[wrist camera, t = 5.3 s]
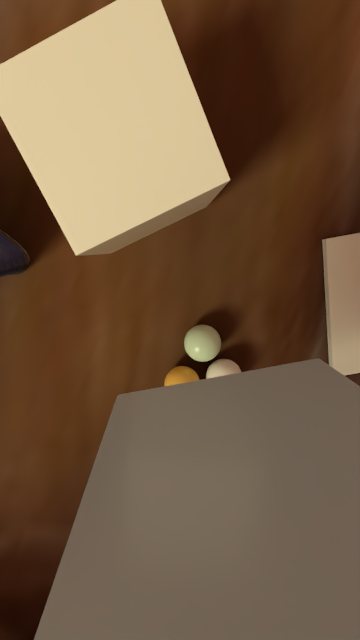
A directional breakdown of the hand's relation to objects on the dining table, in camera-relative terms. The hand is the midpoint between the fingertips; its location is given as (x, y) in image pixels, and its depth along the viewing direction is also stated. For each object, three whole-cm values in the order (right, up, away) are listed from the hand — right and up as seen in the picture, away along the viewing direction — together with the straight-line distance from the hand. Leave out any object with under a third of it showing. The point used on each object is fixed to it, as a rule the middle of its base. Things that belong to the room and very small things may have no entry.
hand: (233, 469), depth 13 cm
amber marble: (-2, +2, +13) cm, 14 cm away
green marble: (-1, +5, +13) cm, 14 cm away
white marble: (+2, +2, +13) cm, 14 cm away
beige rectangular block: (-6, +17, +10) cm, 20 cm away
